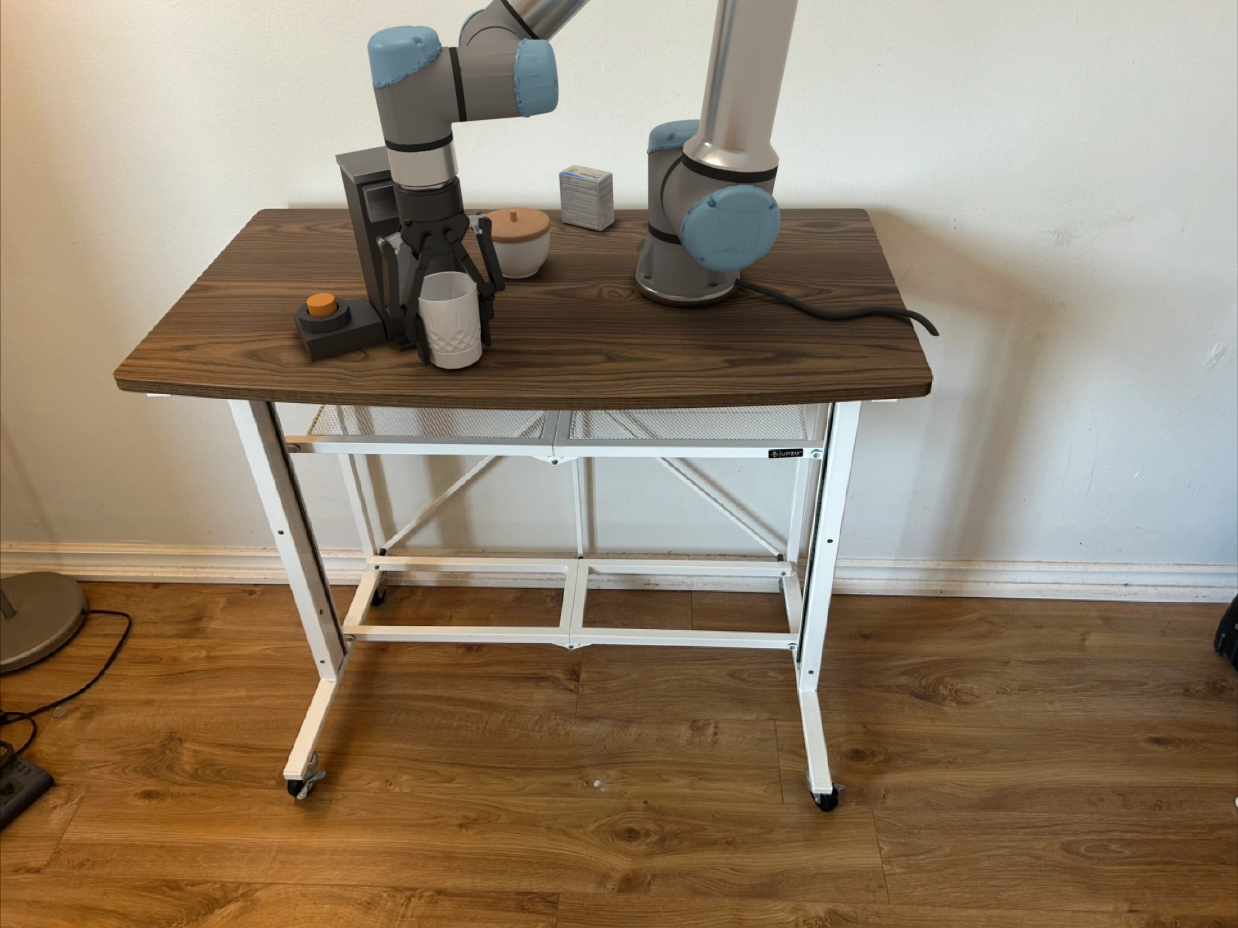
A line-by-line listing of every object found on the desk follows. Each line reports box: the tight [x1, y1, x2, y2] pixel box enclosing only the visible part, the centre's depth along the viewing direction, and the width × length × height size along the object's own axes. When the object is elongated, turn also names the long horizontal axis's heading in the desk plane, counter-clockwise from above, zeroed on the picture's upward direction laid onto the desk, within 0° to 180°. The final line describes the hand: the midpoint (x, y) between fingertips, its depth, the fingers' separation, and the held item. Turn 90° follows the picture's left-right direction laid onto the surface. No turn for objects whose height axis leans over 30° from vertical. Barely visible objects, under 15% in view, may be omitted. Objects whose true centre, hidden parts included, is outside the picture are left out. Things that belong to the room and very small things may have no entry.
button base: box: [292, 296, 388, 362], centre depth 119 cm, size 10×8×5 cm
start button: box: [306, 292, 337, 316], centre depth 117 cm, size 4×4×2 cm
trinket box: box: [485, 206, 551, 279], centre depth 133 cm, size 11×11×9 cm
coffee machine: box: [334, 145, 467, 353], centre depth 117 cm, size 12×12×23 cm
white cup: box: [417, 272, 483, 370], centre depth 112 cm, size 8×8×10 cm
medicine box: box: [558, 164, 615, 232], centre depth 146 cm, size 8×4×9 cm, turn 58°
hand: (455, 351), depth 115 cm, fingers closed on white cup, 8 cm apart
